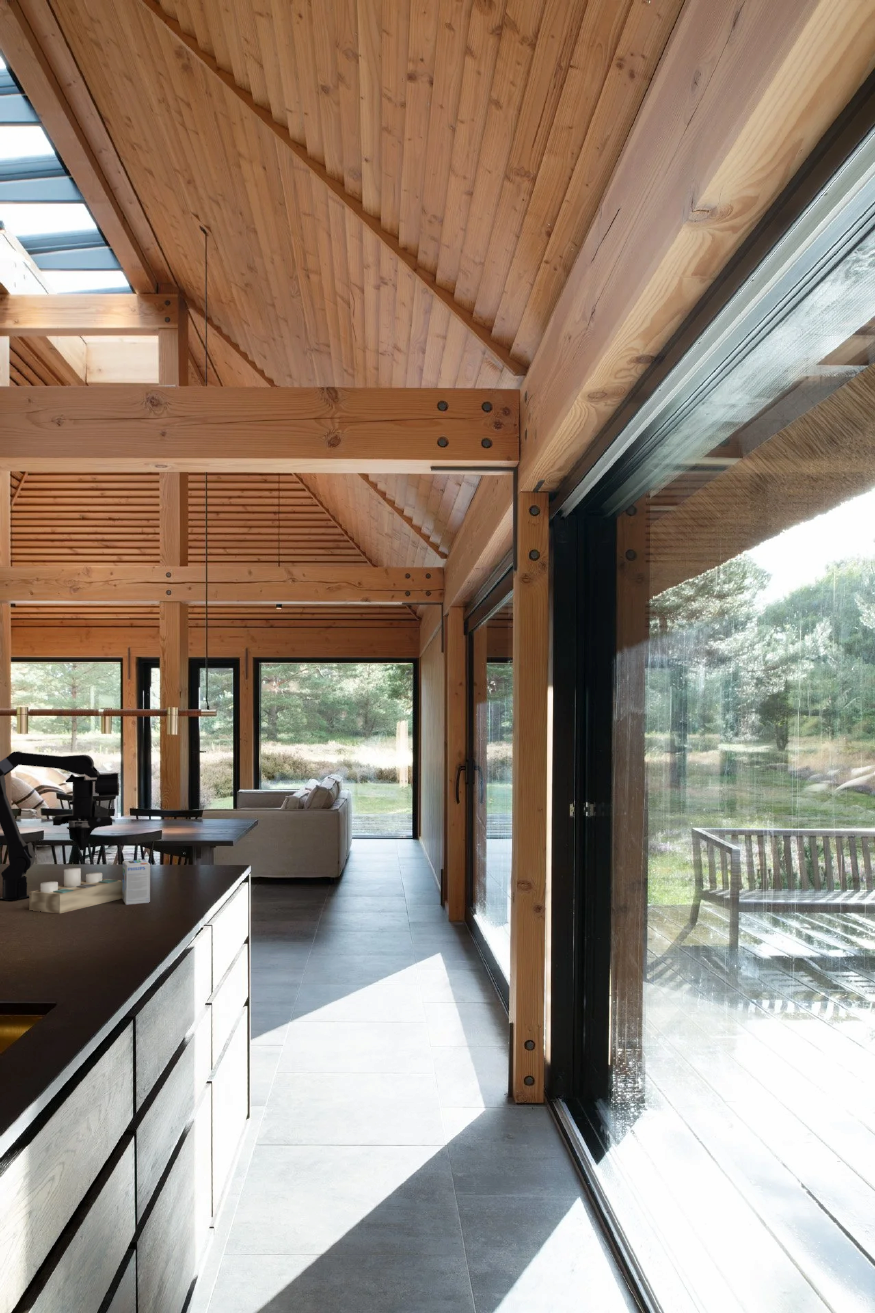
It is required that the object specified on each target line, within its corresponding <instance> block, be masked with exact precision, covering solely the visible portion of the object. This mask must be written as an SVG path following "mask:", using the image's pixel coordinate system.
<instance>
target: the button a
mask: <svg viewBox="0 0 875 1313" xmlns="http://www.w3.org/2000/svg"><path fill="white" fill-rule="evenodd" d="M58 886H59V882H58V881H44V882H40V889H41V891H40V892H46V893H49V892H53V891H57V890H58Z"/></svg>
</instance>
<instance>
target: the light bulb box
mask: <svg viewBox="0 0 875 1313" xmlns="http://www.w3.org/2000/svg"><path fill="white" fill-rule="evenodd" d="M121 878H122V879H121V880H122V901H123V902H124V904H125V905H126V906H127V905H138V904H149V902H151V863H149V861H148V860H147V859H135V860H123V861H122V877H121Z"/></svg>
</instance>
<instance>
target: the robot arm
mask: <svg viewBox="0 0 875 1313" xmlns="http://www.w3.org/2000/svg"><path fill="white" fill-rule="evenodd" d="M18 766H26V767H27V766H28V767H36V768H37V767H39V768H48V769H59V770H63V771H65V772H69V773H71V774H70V776H69V777H68V778H67V779H65V783H72V799H71V800H69V802H68V803H69V804H68V805H69V806H70V805H71V806H72V807H71V808H72V809H71V810H72V812H71V813H72V814H59V815H55V816H54V817H53V819H52V826H58V827H61V826H62V825H65V824H66V825H67V824H68V826H66V830H68V831H69V832H70V835H71V836H72V837H73V840H74V842H75V843H76V845H77V847H78V849H79V851H85V850H86V847H87V845H88V841H89V839H90V836H91V834H92V832H93V831H94V830H95V829H97V828H103V827H108V826H113V818H112V817H111V815H108V814H109V808H106V807H105V806H101V805H97V804H98V801H97V800H96V799H94V793H95V794H98V796H99V797H119V796H120V783H119V782H120V780H119V779H120V778H119V773H118V772H114V773H104V774H103V773H100V772H99V770H98V769H97V768H96V767H95V761H94V759H93V758H92V756H90V755H89V754H76V755H63V756H62V755H60V756H59V755H51V754H50V755H49V754H43V753H30V752H23V751H19V750H17V751H13V752H11V753H10V754H9V755H7V756H6V757H5V758H3V759H2V760H0V828H1V830H2V833H3V836H4V839H5V841H6V843H7V844H6V845H7V857H8V862H9V865H8V866H7V867H6V868H5V869H4V870H3V871H1V872H0V875H1V877H2V889H1V890H2V896H1V897H0V899H5V900H4V901H8V900H15V901H17V900H16V899H19V900H21V899H20V898H24V899H28V898H27V897H29V895H30V894H29V895H28V881H27V876H26V874H27V872H28V870H30V869H31V868H32V867H33V865H34V864H35V860H36V859H35V856H37V854H36V853H35V851H34V849H33V844H32V842H28V843H26V842H25V841H24V839H23V837H22V834H21V831H20V829H19V826H18V823H17V821H16V818H15V816H14V812H13V809H12V807H11V804H10V802H9V798H8V796H7V785H6V783H7V782H6V778H5V776H7V775H8V774H10V773H11V772H12V771H13V770H14V769H15V768H17V767H18ZM74 774H76V775H80V776H75V775H74ZM81 775H82V776H81ZM83 775H85V776H83ZM87 777H88V778H91V779H86V778H87ZM94 778H95V779H94Z"/></svg>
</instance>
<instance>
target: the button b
mask: <svg viewBox="0 0 875 1313" xmlns="http://www.w3.org/2000/svg"><path fill="white" fill-rule="evenodd" d="M81 876H82V868H81V867H69V868H64V869H63V885H64V887H70V888H73V887H76V886H80V885H81V881H82V878H81Z"/></svg>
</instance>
